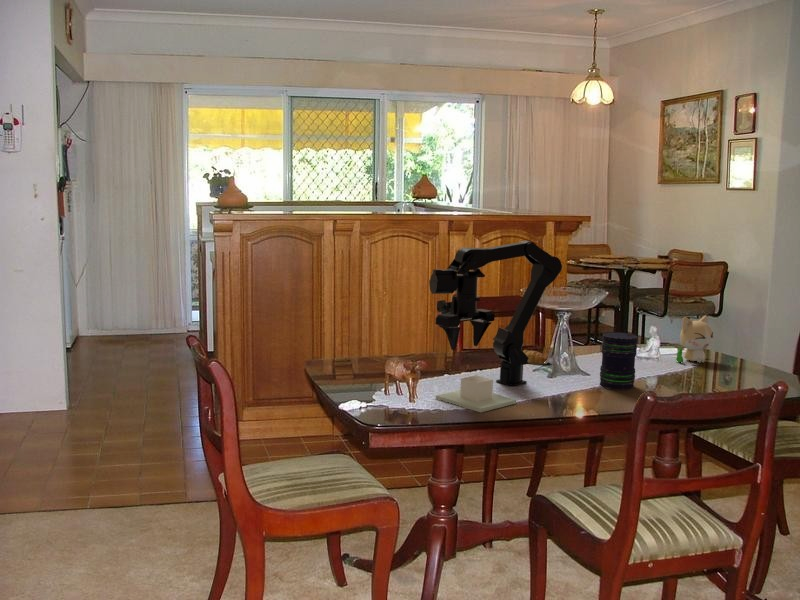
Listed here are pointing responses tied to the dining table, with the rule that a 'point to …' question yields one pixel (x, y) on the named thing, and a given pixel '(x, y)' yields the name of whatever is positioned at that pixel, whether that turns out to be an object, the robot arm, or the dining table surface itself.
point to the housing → (476, 388)
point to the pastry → (535, 357)
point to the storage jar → (618, 360)
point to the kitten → (695, 339)
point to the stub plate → (478, 406)
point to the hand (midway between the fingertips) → (464, 348)
